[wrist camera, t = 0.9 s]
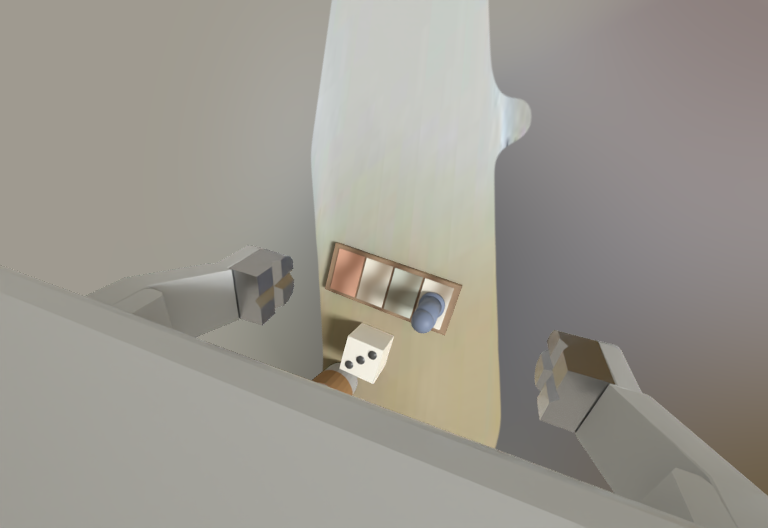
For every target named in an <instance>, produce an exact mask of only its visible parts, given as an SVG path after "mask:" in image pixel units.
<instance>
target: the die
mask: <svg viewBox="0 0 768 528" xmlns="http://www.w3.org/2000/svg"><path fill="white" fill-rule="evenodd" d="M393 338H394V335H391V334H389V333H387V332H384V331H382V330H379V329H377V328H374V327H372V326H369V325H367V324H364V323H361V324H360V325H359V326H358V327H357V328H356V329H355V330H354V331H353V332H352V333H351V334H350V335H348V338H347V342H346V345H345V349H344V353H343V357H342V361H341V364H340V368H339V369H341V370H344V371H346V372H348V373H350V374H352V375H355V376H357V377H359V378H361V379H363V380H366V381H368V382H370V383H372V384H374V382H375V381H376V379H377V377H378V376H379V374H380V373H381V371H382V370H383V368H384V366H385V364H386V361H387V357H388V354H389V351H390V348H391V344H392V341H393Z"/></svg>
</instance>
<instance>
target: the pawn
mask: <svg viewBox="0 0 768 528" xmlns="http://www.w3.org/2000/svg"><path fill="white" fill-rule="evenodd" d="M444 309H445V301H444V299H443V298H442V296H441V295H439V294H438V293H435V292H428V293H426V294H424V295H423V296H422V297H421V299H420V300H419V303H418V308H417V309H416V310H415V312H414V313H413V316H412V319H411V324H412V327H413V328H414V330H416V331H417V332H419V333H427V332H429V331H430V330H431V329H432V328H433V327H434V325H435V323H436V321H437V319H438V317H440V316H441V315H442V314H443V312H444Z"/></svg>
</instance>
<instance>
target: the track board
mask: <svg viewBox="0 0 768 528" xmlns="http://www.w3.org/2000/svg"><path fill="white" fill-rule="evenodd" d="M461 288H462V285H461V284H458V283H455V282H452V281H449V280H446V279H443V278H440V277H437V276H434V275H432V274H429V273H426V272H423V271H420V270H417V269H414V268H411V267H408V266H405V265H402V264H400V263H397V262H394V261H391V260H388V259H385V258H382V257H379V256H376V255H373V254H370V253H368V252H365V251H362V250H359V249H356V248H353V247H350V246H347V245H344V244H341V243H335V248H334V252H333V256H332V261H331V265H330V269H329V274H328V278H327V282H326V287H325V289H326V290H329V291H331V292H334V293H337V294H339V295H342V296H344V297H347V298H349V299H352V300H355V301H357V302H360V303H362V304H365V305H367V306H370V307H373V308H375V309H378V310H380V311H383V312H385V313H388V314H391V315H393V316H396V317H398V318H401V319H403V320H406V321H409V322H411V319H412V316H413V313H414V312H415V310H416V309H417V308H418V303H419V300H420V299H421V297H422V296H423V295H424V294H426V293H428V292H435V293H438V294H439V295H441V296H442V298H443V299H444V301H445V309H444V312H443V314H442V315H441V316H440V317H438V319H437V321H436V323H435V325H434V327H433V328H432V329H431V330H432V331H434V332H437V333H440V334H442V335H445V333H446V331H447V328H448V325H449V322H450V319H451V316H452V314H453V311H454V308H455V305H456V302H457V299H458V296H459V294H460V291H461Z"/></svg>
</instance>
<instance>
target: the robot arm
mask: <svg viewBox="0 0 768 528" xmlns="http://www.w3.org/2000/svg"><path fill="white" fill-rule="evenodd" d="M292 269H293V260H292V258H291V257H290V256H287V255H284V254H280V253H277V252H273V251H270V250H267V249H263V248H260V247H256V246H252V245H247V246H246V247H244V248H242V249H240V250H238V251H237V252H235V253H233V254H231V255H229V256H228V257H226V258H224V259H222V260H220V261H219V262H217V263H215V264H211V263H208V264H201V265H196V266H190V267H184V268H178V269H172V270H167V271H162V272H155V273H149V274H143V275H138V276H132V277H127V278H123V279H120V280H118V281H116V282H114V283H112V284H110V285H108V286H105V287H103V288H101V289H99V290H97V291H95V292H93V293H90V294H88V295H86V296H83V295H80V294H77V293H75V292H72V291H69V290H66V289H64V288H61V287H58V286H56V285H53V284H50V283H47V282H45V281H42V280H40V279H37V278H34V277H32V276H29V275H26V274H24V273H21V272H18V271H15V270H13V269H10V268H7V267H5V266H2V265H0V528H768V496H767V495H766V494H765V493H763V492H762V491H761V490H760V489H759V488H757V487H756V486H755V485H754V484H753V483H751V481H749V480H748V479H747V478H746V477H745V476H743V475H742V474H741V473H740V472H739V471H738V470H736V469H735V468H734V467H733V466H732V465H731V464H729V463H728V462H727V461H726V460H724V459H723V458H722V457H721V456H720V455H718V453H716V452H715V451H714V450H713V449H712V448H711V447H709V446H708V445H707V444H706V443H705V442H703V441H702V440H701V439H700V438H699V437H698V436H696V435H695V434H694V433H693V432H692V431H691V430H689V429H688V428H687V427H686V426H685V425H683V424H682V423H681V422H680V421H679V420H678V419H676V418H675V417H674V416H673V415H671V414H670V413H669V412H668V411H667V410H666V409H664V408H663V407H662V406H661V405H660V404H659V403H657V402H656V401H655V400H654V399H653V398H652V397H650V396H649V395H646V394H643V393H642V392H641V390H640V388H639V386H638V384H637V382H636V380H635V378H634V376H633V374H632V372H631V370H630V367H629V366H628V363H627V361H626V359H625V357H624V355H623V353H622V351H621V349H620V348H619V347H618V346H616V345H613V344H609V343H605V342H600V341H596V340H591V339H588V338H584V337H579V336H576V335H572V334H568V333H564V332H560V331H556V330H554V331H553V332H552V333H551V334H550V336H549V338H548V340H547V343H548V350H546V351H544V352H542V353H541V355H540V357H539V359H538V361H537V365H536V369H535V386H536V387H537V388H538V390H539V391H540V394H539V396H538V398H537V403H538V411H539V418H540V420H541V421H544V422H546V423H549V424H552V425H555V426H558V427H560V428H563V429H565V430H569V431H571V432H574V433H575V436H576V437H577V438H578V440H579V441H580V443H581V444H582V446H583V447H584V449H585V450H586V452H587V453H588V455H589V456H590V458H591V459H592V461H593V462H594V464H595V465H596V466H597V468H598V469H599V471H600V472H601V474H602V475H603V477H604V478H605V480H606V481H607V483H608V484H609V486H610V487H611V489H612V490H613V491H614V493H612V492H610V491H607V490H604V489H601V488H599V487H596V486H593V485H591V484H588V483H585V482H582V481H580V480H577V479H575V478H572V477H569V476H566V475H564V474H561V473H558V472H556V471H553V470H550V469H548V468H545V467H542V466H540V465H537V464H534V463H532V462H529V461H526V460H523V459H521V458H518V457H515V456H513V455H510V454H507V453H505V452H502V451H499V450H497V449H494V448H491V447H489V446H486V445H483V444H481V443H478V442H475V441H472V440H470V439H467V438H464V437H462V436H459V435H456V434H454V433H451V432H448V431H446V430H443V429H440V428H438V427H435V426H432V425H429V424H427V423H424V422H421V421H419V420H416V419H413V418H411V417H408V416H405V415H403V414H400V413H397V412H395V411H392V410H389V409H387V408H384V407H381V406H378V405H376V404H373V403H370V402H368V401H365V400H362V399H360V398H357V397H354V396H352V395H349V394H346V393H344V392H341V391H338V390H336V389H333V388H330V387H328V386H325V385H322V384H319V383H317V382H314V381H311V380H309V379H306V378H303V377H301V376H298V375H295V374H293V373H290V372H287V371H284V370H282V369H279V368H276V367H274V366H271V365H268V364H265V363H263V362H260V361H257V360H255V359H252V358H249V357H246V356H244V355H241V354H238V353H236V352H233V351H230V350H227V349H225V348H222V347H219V346H217V345H214V344H211V343H209V342H206V341H203V340H201V339H198V338H196V337H198V336H200V335H203V334H205V333H208V332H210V331H212V330H215V329H217V328H220V327H222V326H225V325H227V324H230V323H232V322H234V321H237V320H239V318H240V319H243V320H246V321H250V322H253V323H256V324H259V325H263V324H264V323H265V322H267V321H268V320H269V319H270V318H271V317H272V316H273V315H274V314H275V308H277V307H281V306H284V305H285V304H286V303H287V302H288V301H289V299H290V297H291V295H292V293H293V289H294V279H293V278H292V276H291V275H290V272H291V271H292Z"/></svg>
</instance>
